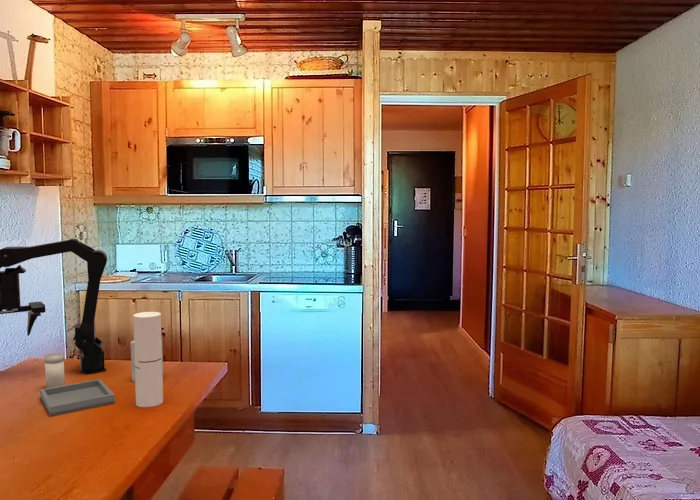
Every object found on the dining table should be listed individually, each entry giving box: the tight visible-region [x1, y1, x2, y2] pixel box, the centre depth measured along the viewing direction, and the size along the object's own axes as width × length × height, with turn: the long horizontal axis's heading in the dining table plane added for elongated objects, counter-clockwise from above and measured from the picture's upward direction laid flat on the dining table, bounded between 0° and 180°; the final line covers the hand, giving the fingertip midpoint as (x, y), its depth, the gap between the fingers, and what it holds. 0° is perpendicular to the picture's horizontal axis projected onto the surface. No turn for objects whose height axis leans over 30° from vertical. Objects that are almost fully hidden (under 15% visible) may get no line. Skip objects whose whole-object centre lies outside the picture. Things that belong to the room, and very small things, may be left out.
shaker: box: [43, 352, 66, 389], centre depth 166 cm, size 5×5×10 cm
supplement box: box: [129, 336, 164, 382], centre depth 176 cm, size 7×7×13 cm
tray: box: [39, 378, 116, 417], centre depth 157 cm, size 16×16×2 cm
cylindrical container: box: [132, 311, 164, 408], centre depth 155 cm, size 7×7×25 cm
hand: (11, 337), depth 174 cm, fingers open, 9 cm apart
